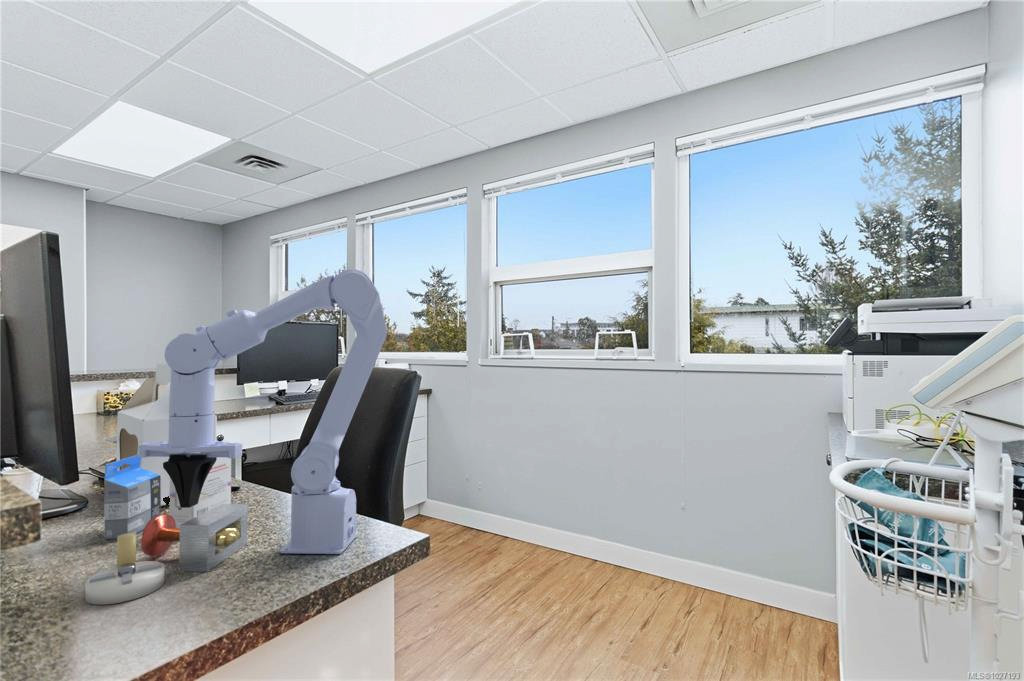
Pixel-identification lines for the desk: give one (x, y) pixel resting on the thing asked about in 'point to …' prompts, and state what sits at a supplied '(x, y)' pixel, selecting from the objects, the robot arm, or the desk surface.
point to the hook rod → (175, 535)
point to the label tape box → (129, 497)
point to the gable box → (148, 424)
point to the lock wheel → (124, 577)
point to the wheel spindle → (126, 569)
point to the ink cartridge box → (205, 493)
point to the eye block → (211, 537)
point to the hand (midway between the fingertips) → (189, 505)
